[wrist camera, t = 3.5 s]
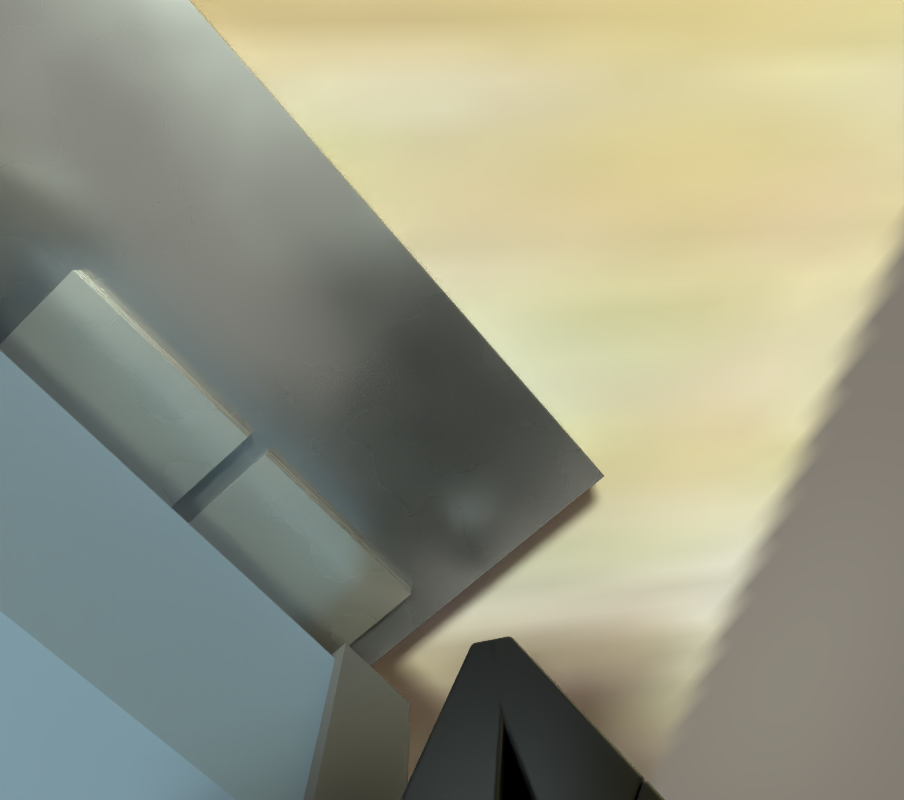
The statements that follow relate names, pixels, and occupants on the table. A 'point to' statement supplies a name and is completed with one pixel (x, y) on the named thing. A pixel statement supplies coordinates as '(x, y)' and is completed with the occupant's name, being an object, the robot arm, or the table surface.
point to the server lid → (253, 327)
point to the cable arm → (158, 647)
